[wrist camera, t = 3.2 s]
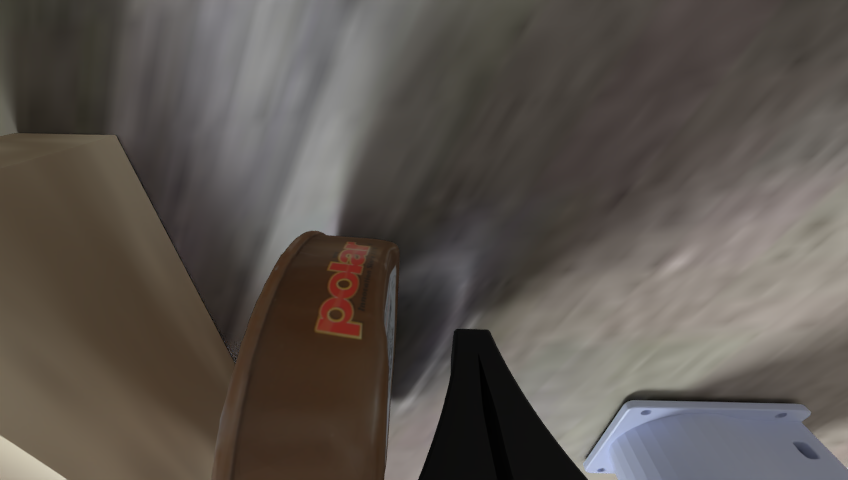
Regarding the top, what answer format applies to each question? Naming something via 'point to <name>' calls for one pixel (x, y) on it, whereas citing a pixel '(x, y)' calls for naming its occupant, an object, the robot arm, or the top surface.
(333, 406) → the tin
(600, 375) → the top surface
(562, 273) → the top surface
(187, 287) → the board
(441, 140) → the top surface
